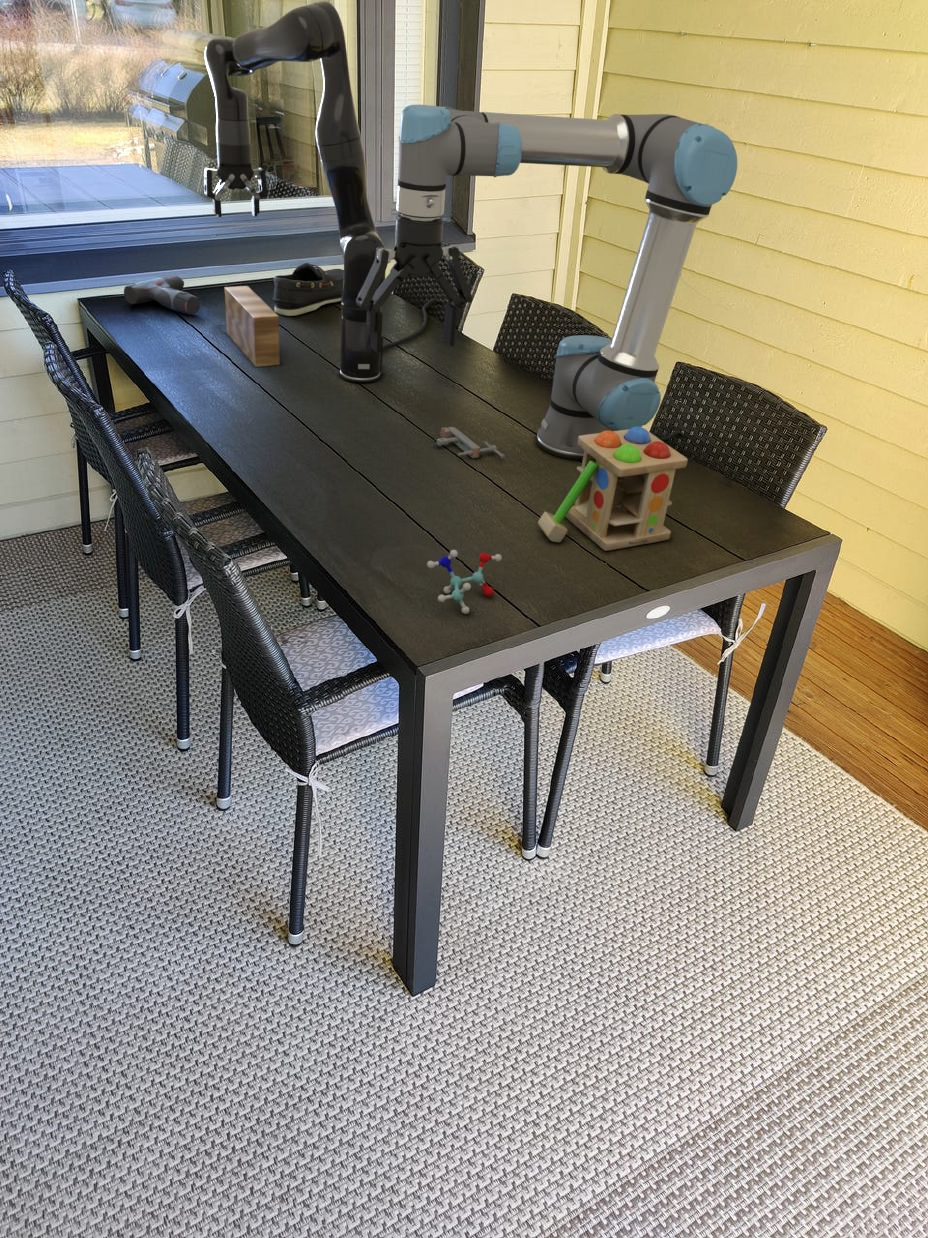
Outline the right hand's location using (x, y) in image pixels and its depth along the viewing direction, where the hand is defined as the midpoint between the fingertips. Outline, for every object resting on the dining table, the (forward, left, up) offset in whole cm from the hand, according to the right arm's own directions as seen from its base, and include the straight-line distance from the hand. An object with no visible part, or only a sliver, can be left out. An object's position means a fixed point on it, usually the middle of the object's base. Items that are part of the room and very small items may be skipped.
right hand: (412, 346), depth 167 cm
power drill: (+1, -121, -28) cm, 124 cm away
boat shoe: (-36, -113, -28) cm, 122 cm away
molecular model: (+9, +34, -28) cm, 45 cm away
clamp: (-22, -12, -28) cm, 38 cm away
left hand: (-6, -92, 0) cm, 92 cm away
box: (-5, -83, -28) cm, 88 cm away
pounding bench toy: (-25, +26, -28) cm, 46 cm away
